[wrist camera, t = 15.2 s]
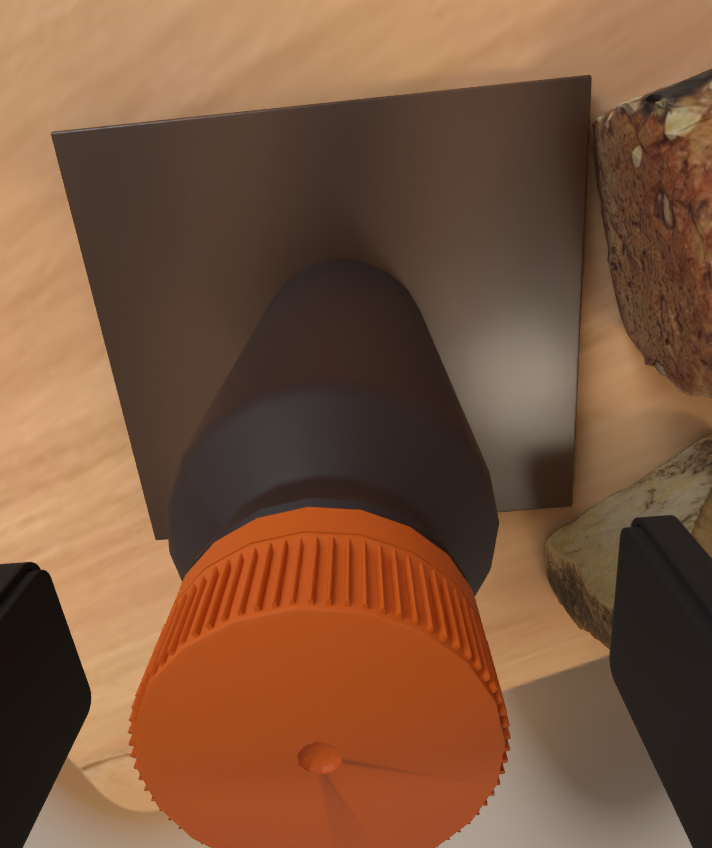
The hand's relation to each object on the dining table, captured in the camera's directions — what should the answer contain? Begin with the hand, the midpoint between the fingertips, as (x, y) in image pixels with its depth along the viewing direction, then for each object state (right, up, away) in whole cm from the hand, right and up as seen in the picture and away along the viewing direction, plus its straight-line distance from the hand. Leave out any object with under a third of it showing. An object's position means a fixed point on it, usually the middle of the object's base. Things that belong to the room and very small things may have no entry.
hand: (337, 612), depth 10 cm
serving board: (0, +7, +18) cm, 19 cm away
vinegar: (0, +7, +16) cm, 18 cm away
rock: (+14, -1, +21) cm, 26 cm away
